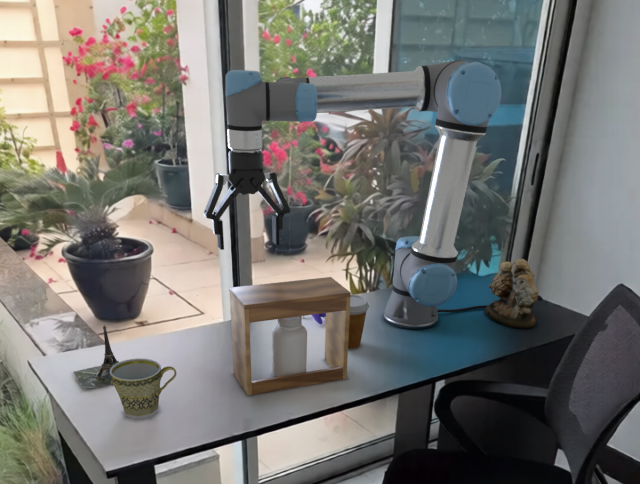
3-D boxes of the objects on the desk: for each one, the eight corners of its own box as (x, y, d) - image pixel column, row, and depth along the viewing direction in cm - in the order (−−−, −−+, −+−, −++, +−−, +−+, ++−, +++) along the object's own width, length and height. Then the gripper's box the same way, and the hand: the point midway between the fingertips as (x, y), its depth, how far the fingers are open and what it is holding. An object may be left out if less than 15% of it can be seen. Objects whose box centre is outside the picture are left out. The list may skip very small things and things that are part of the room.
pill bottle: (301, 385, 149) (302, 323, 142) (268, 381, 151) (266, 319, 143) (310, 370, 156) (311, 310, 148) (277, 366, 157) (276, 307, 149)
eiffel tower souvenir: (138, 360, 157) (131, 307, 150) (151, 377, 150) (144, 322, 143) (73, 373, 151) (63, 318, 144) (84, 391, 143) (73, 335, 136)
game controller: (321, 319, 174) (299, 300, 179) (324, 341, 180) (303, 323, 185) (350, 302, 177) (329, 284, 182) (352, 325, 183) (332, 307, 189)
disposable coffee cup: (347, 334, 175) (349, 291, 169) (373, 345, 170) (377, 301, 163) (322, 343, 170) (323, 299, 163) (348, 355, 164) (350, 310, 158)
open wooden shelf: (233, 374, 153) (229, 287, 142) (328, 359, 162) (330, 276, 150) (247, 395, 144) (244, 305, 133) (346, 378, 153) (350, 292, 142)
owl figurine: (472, 310, 194) (481, 253, 185) (502, 304, 199) (512, 248, 190) (514, 332, 181) (526, 271, 172) (545, 325, 186) (558, 266, 177)
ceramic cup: (120, 427, 131) (113, 383, 126) (113, 404, 139) (106, 362, 134) (184, 416, 136) (180, 373, 130) (174, 395, 143) (170, 353, 138)
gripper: (292, 145, 152) (292, 237, 163) (185, 148, 143) (193, 245, 154) (304, 150, 147) (303, 245, 158) (193, 154, 138) (201, 254, 149)
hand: (248, 245), depth 156 cm, fingers open, 13 cm apart
